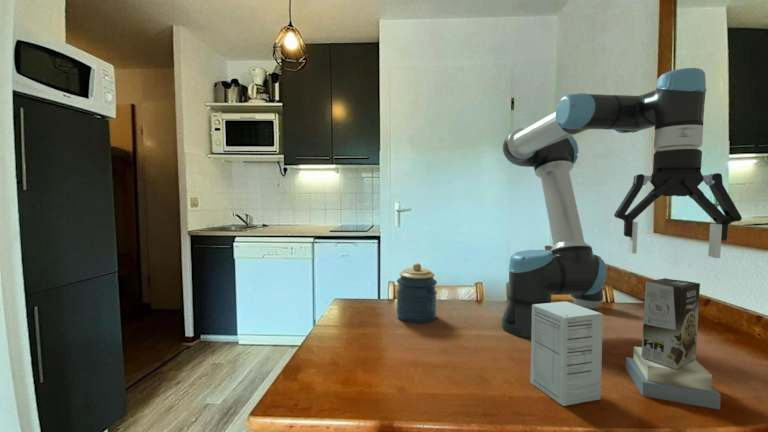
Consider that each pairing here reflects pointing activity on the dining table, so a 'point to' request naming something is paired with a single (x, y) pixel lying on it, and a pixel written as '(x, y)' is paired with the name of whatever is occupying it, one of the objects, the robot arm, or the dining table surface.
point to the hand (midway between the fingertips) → (671, 255)
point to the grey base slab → (672, 389)
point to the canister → (416, 295)
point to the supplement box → (566, 352)
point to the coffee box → (670, 322)
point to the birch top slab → (674, 372)
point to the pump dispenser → (589, 300)
